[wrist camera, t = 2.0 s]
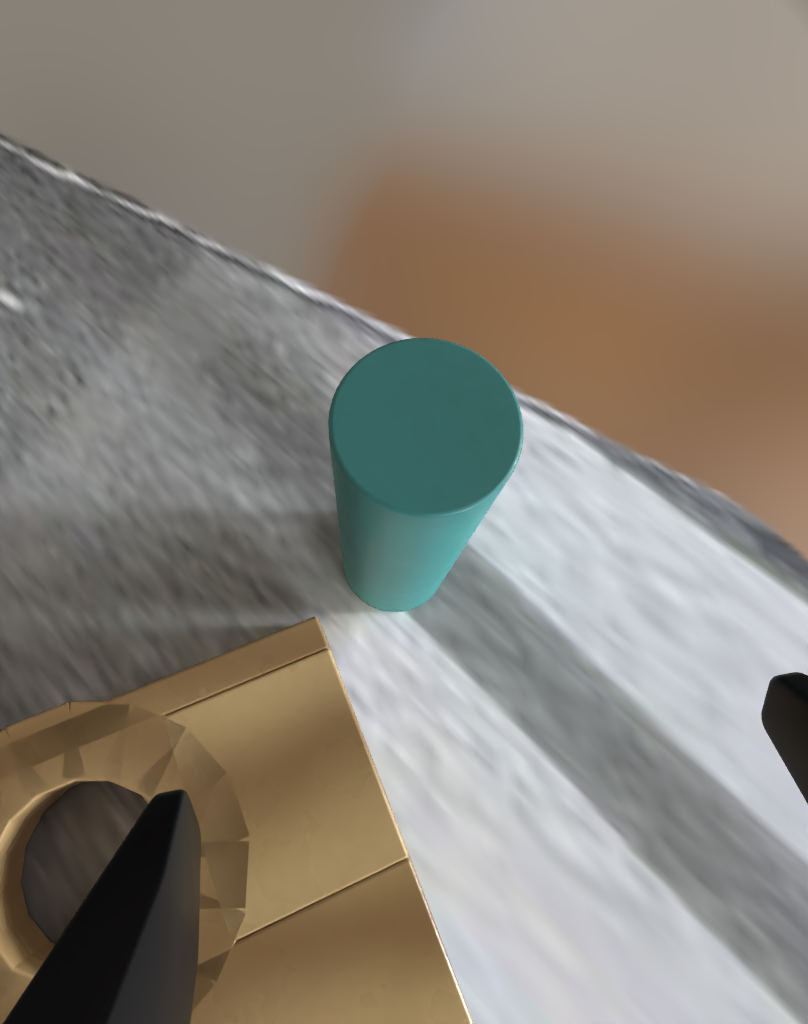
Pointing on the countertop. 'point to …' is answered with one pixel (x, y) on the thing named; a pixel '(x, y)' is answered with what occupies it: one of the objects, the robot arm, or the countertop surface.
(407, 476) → the peg
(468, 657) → the countertop surface
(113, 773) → the board
